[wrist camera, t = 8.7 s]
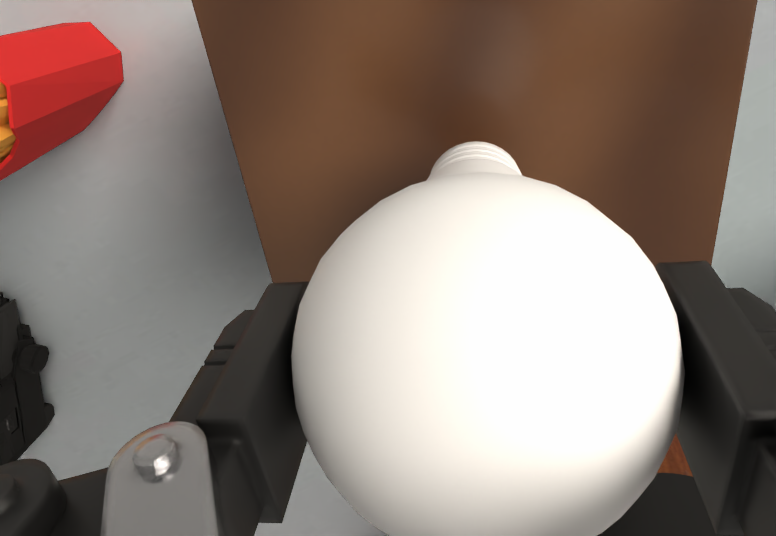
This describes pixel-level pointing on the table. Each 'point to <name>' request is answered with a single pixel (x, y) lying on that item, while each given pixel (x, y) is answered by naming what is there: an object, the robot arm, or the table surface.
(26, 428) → the camera
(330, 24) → the shelf
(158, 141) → the table surface
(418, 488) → the lightbulb
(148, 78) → the table surface
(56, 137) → the french fries
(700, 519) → the mug
